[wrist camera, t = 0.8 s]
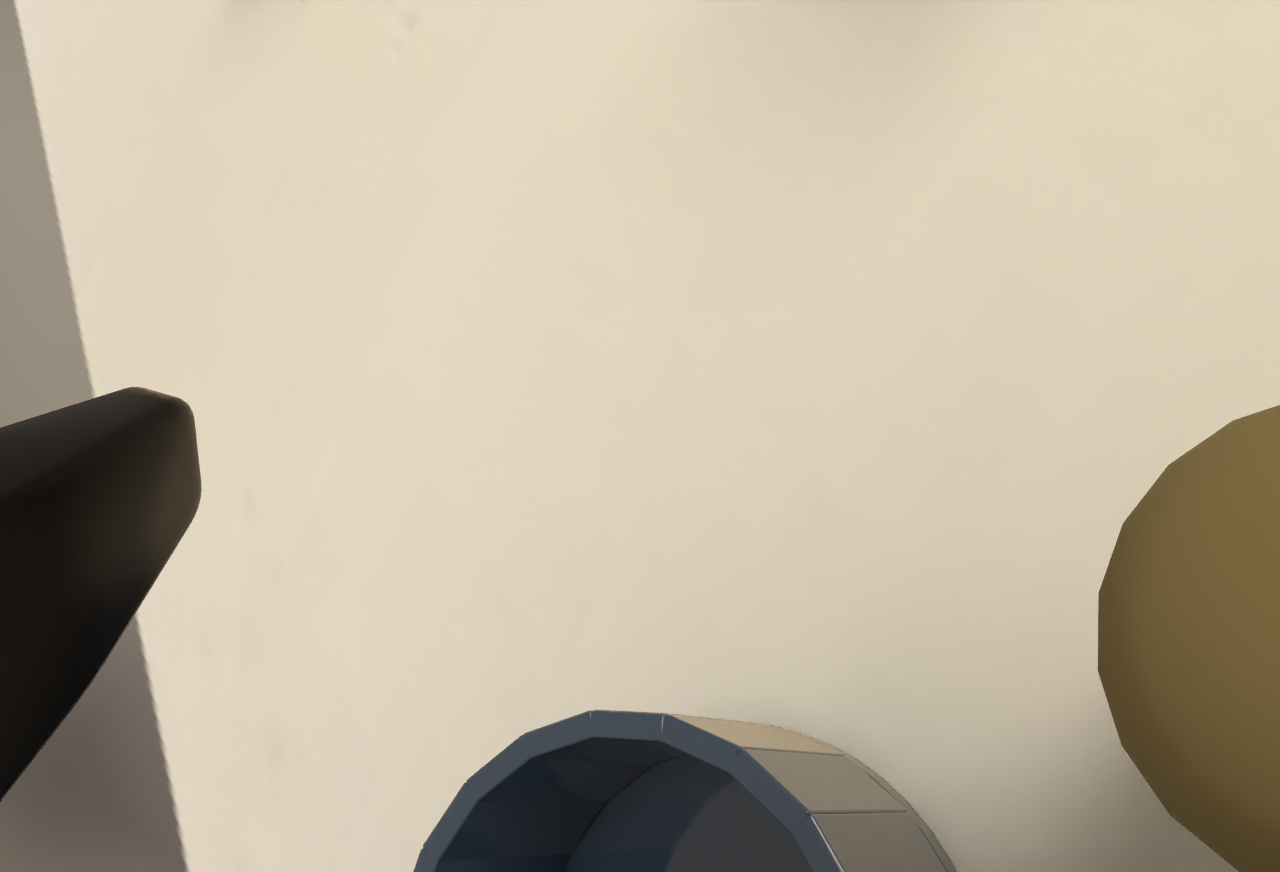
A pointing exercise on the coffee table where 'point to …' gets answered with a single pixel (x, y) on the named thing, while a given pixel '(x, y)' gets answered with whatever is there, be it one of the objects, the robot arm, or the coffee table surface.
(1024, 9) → the coffee table surface
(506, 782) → the blue-grey round bowl
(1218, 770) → the brown cylinder with knob
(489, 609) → the coffee table surface
